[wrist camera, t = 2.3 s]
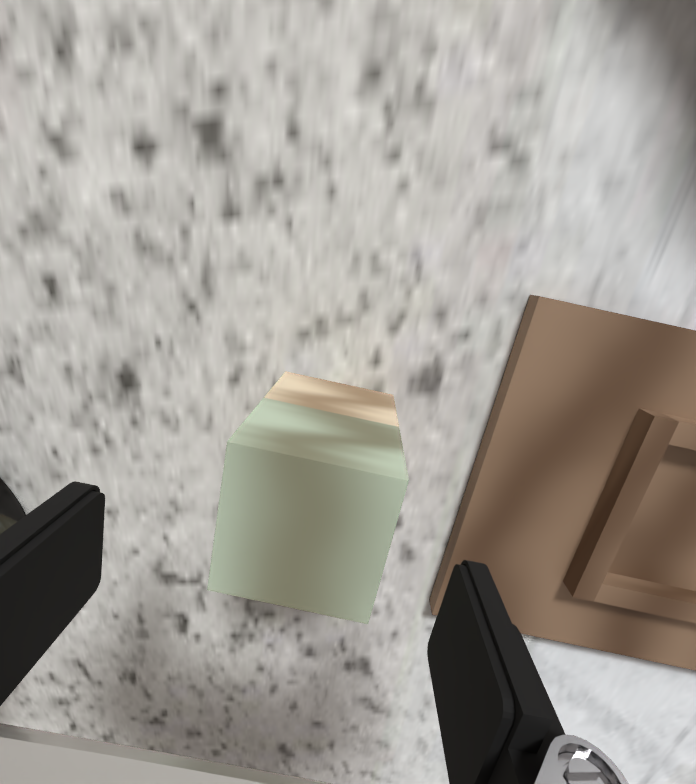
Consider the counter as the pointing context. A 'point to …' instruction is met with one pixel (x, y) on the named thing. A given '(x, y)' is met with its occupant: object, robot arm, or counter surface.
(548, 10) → the counter surface
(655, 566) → the walnut socket board
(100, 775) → the robot arm
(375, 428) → the two-tone block
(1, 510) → the jar
